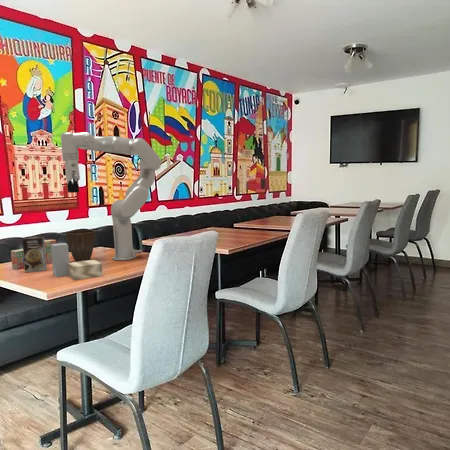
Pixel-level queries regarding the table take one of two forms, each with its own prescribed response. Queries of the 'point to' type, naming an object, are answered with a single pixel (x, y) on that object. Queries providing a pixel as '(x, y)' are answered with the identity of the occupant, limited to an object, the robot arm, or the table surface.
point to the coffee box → (34, 254)
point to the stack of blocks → (18, 255)
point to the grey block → (60, 259)
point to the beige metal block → (84, 269)
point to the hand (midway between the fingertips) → (73, 192)
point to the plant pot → (81, 244)
